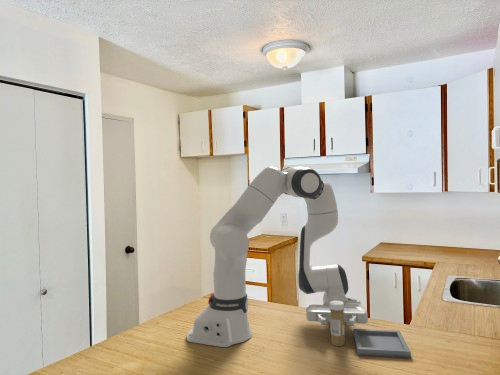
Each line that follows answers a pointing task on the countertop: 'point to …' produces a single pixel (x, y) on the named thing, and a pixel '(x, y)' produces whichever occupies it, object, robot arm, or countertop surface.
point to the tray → (380, 343)
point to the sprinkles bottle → (337, 323)
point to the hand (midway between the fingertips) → (337, 323)
